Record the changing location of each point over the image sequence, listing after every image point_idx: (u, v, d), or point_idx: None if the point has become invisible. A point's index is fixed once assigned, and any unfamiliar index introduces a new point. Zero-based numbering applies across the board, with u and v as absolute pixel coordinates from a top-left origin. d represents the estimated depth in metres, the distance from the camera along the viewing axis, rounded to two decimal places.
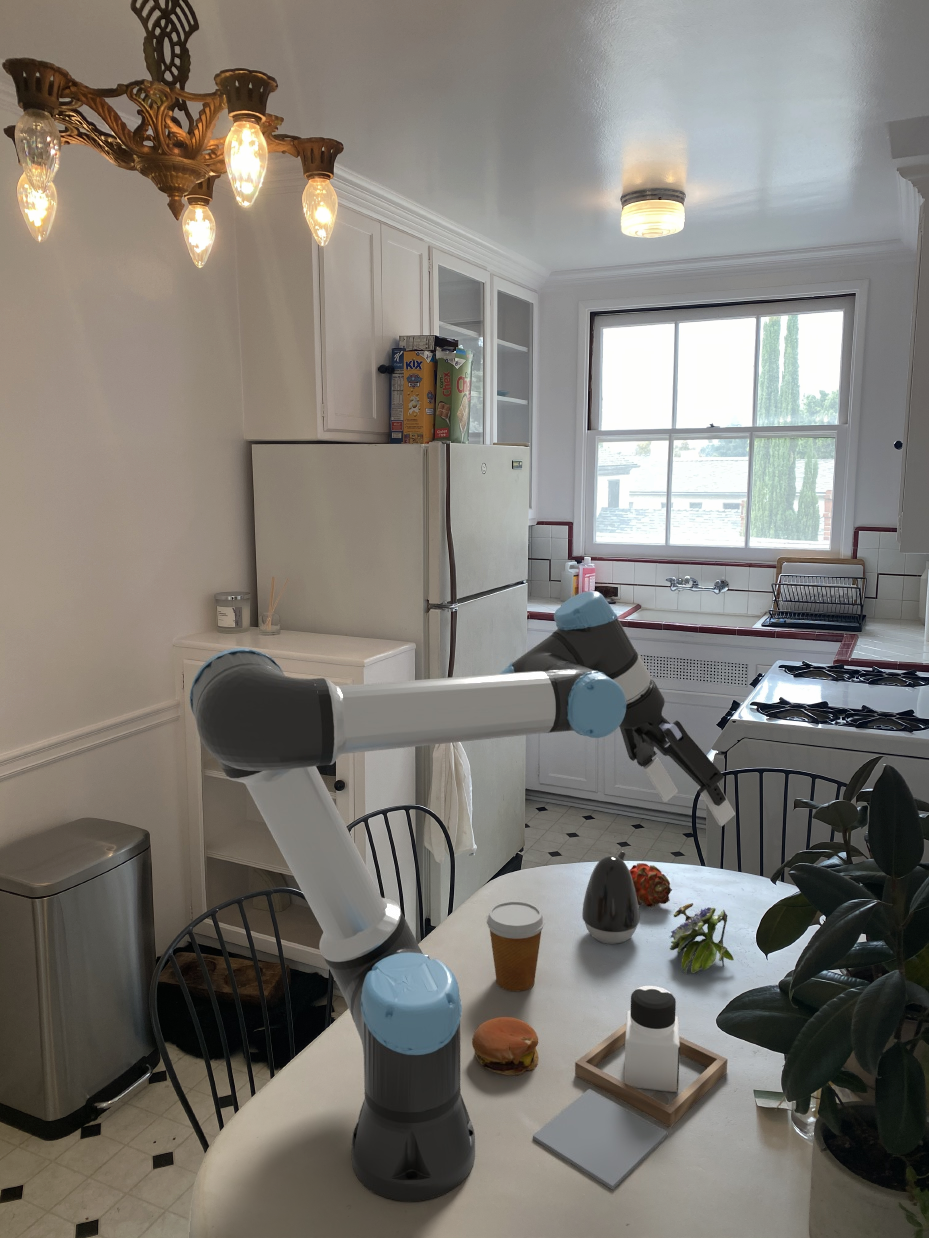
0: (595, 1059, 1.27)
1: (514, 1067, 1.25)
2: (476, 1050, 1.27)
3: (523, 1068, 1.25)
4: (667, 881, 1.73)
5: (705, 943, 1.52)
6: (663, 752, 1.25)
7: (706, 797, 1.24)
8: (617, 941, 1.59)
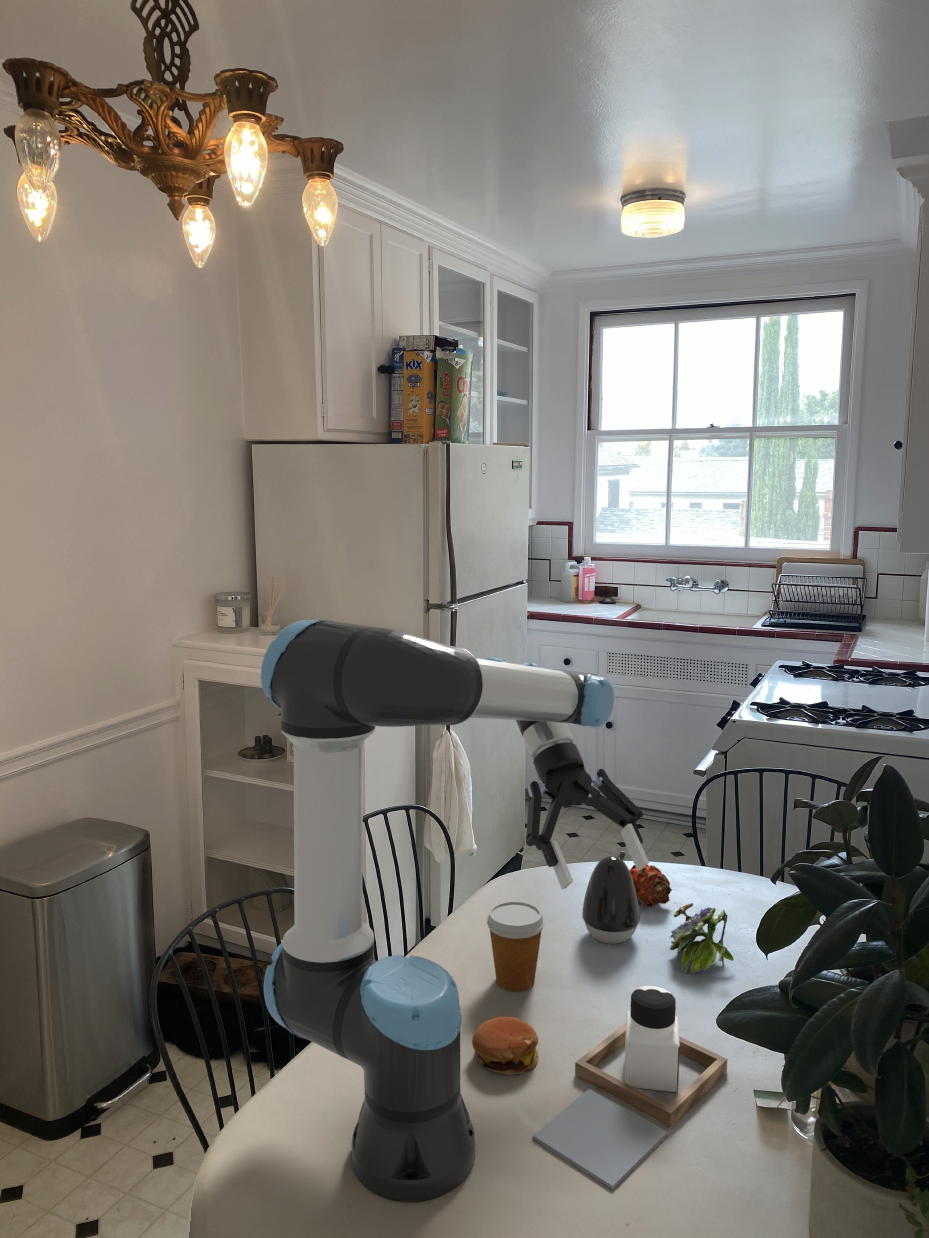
0: (595, 1059, 1.27)
1: (514, 1067, 1.25)
2: (476, 1050, 1.27)
3: (523, 1068, 1.25)
4: (667, 881, 1.73)
5: (705, 943, 1.52)
6: (597, 792, 1.42)
7: (634, 832, 1.40)
8: (617, 941, 1.59)
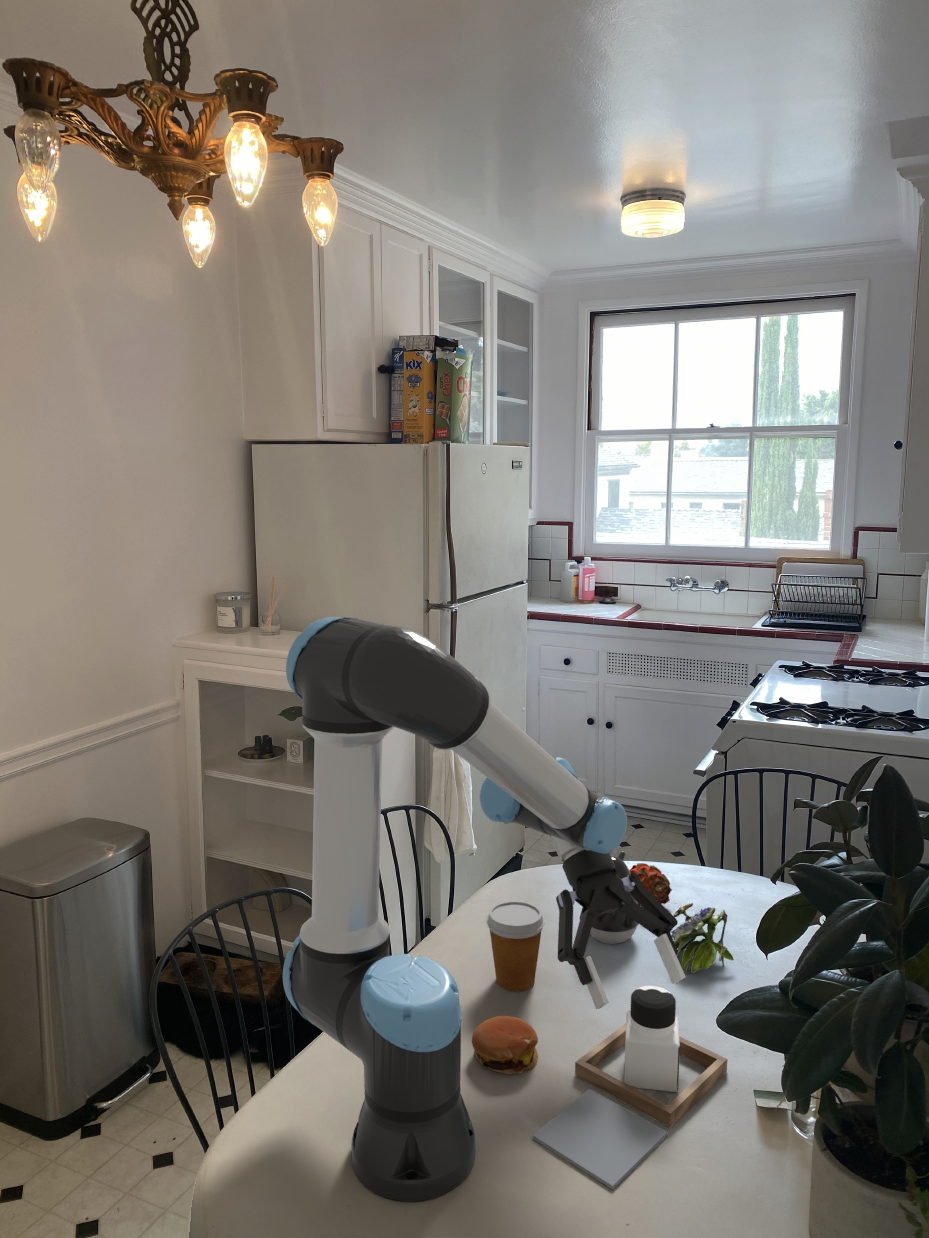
0: (595, 1059, 1.27)
1: (513, 1066, 1.25)
2: (476, 1049, 1.27)
3: (522, 1067, 1.25)
4: (667, 881, 1.73)
5: (705, 943, 1.52)
6: (630, 899, 1.35)
7: (670, 943, 1.34)
8: (617, 941, 1.59)
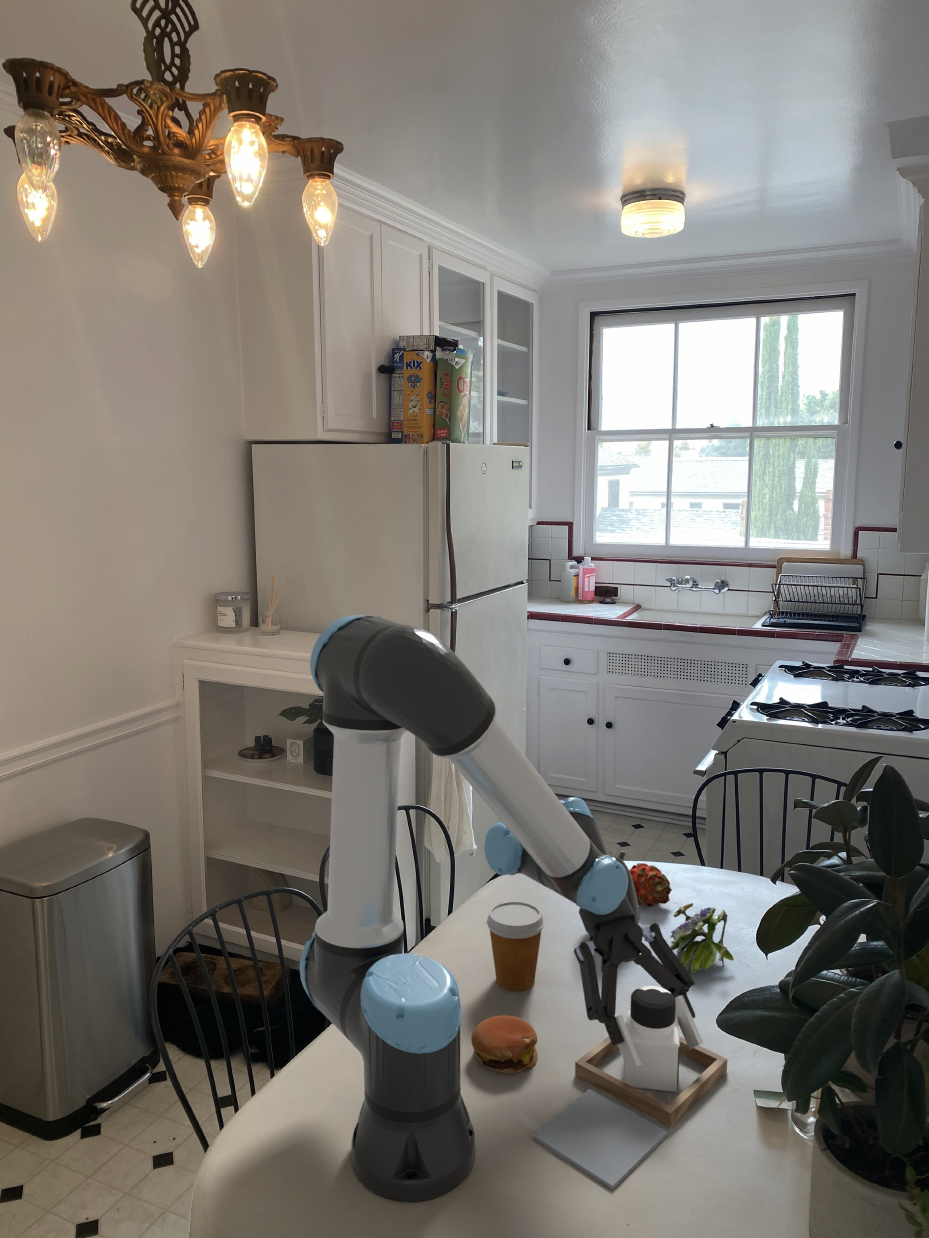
0: (595, 1059, 1.27)
1: (513, 1065, 1.25)
2: (475, 1048, 1.28)
3: (522, 1066, 1.25)
4: (667, 881, 1.73)
5: (705, 943, 1.52)
6: (648, 951, 1.29)
7: (686, 1005, 1.26)
8: None
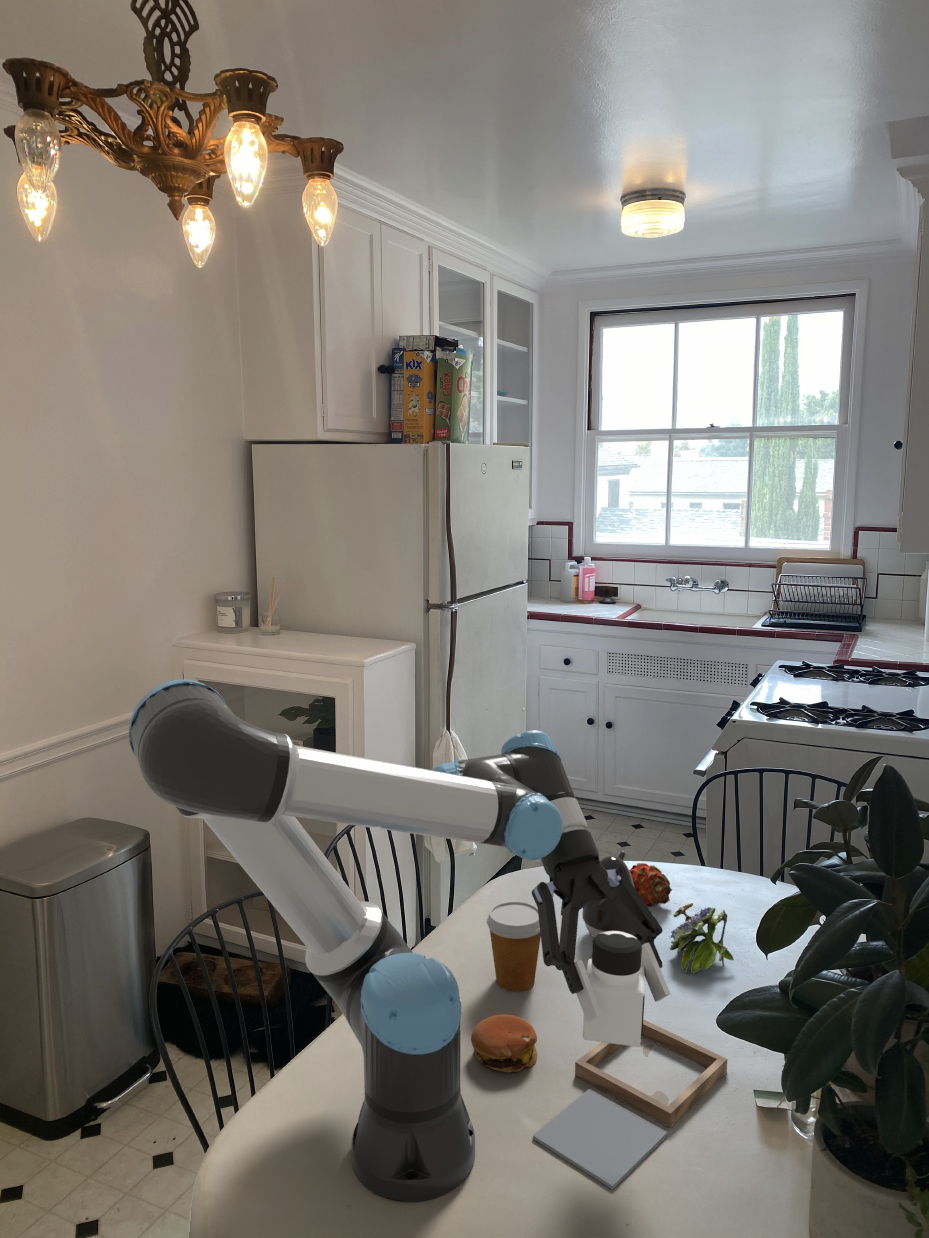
0: (595, 1059, 1.27)
1: (512, 1064, 1.25)
2: (475, 1047, 1.28)
3: (521, 1065, 1.26)
4: (667, 881, 1.73)
5: (705, 943, 1.52)
6: (613, 895, 1.17)
7: (653, 954, 1.15)
8: None
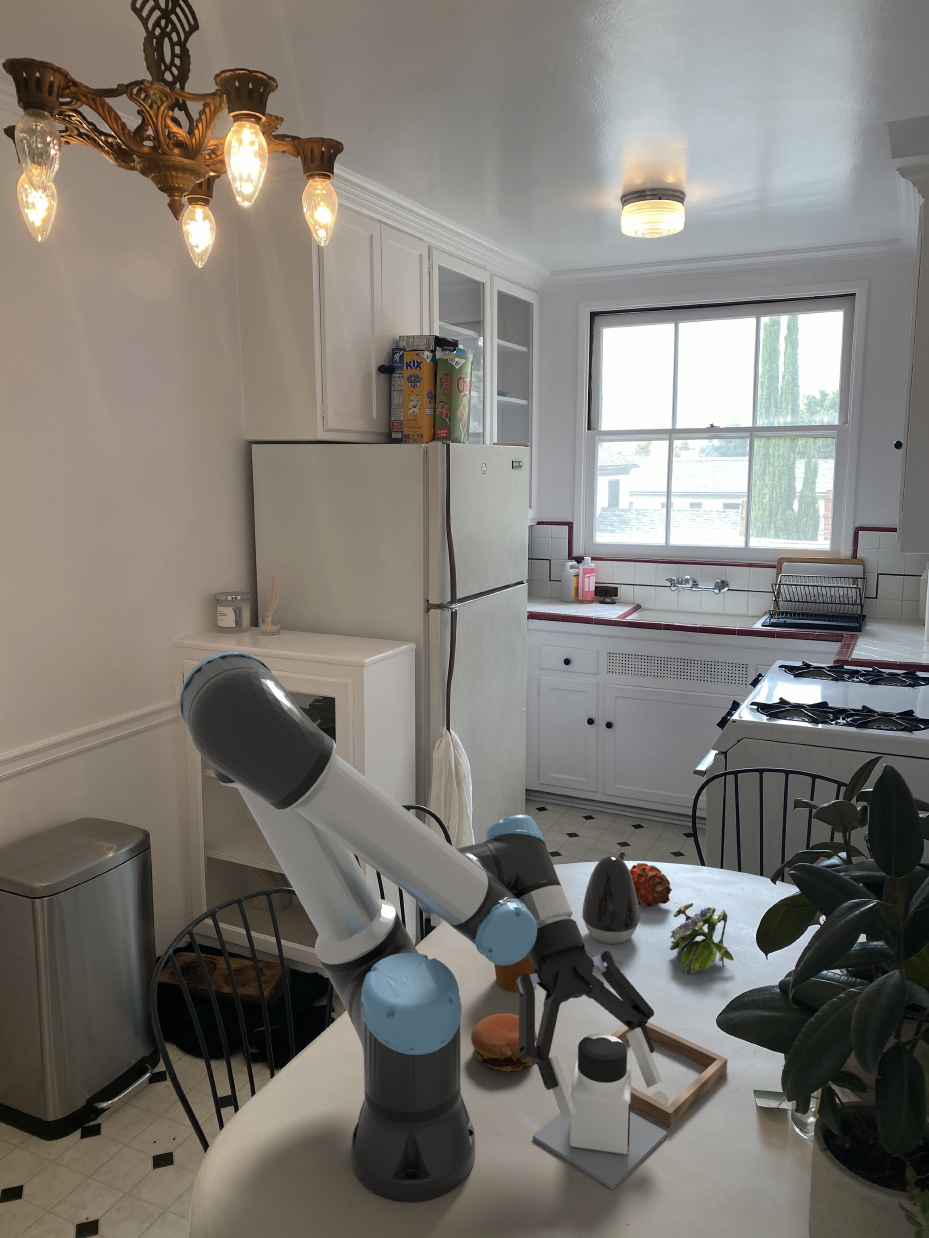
0: None
1: (512, 1063, 1.25)
2: (475, 1046, 1.28)
3: (521, 1064, 1.26)
4: (667, 881, 1.73)
5: (705, 943, 1.52)
6: (600, 984, 1.17)
7: None
8: (617, 941, 1.59)
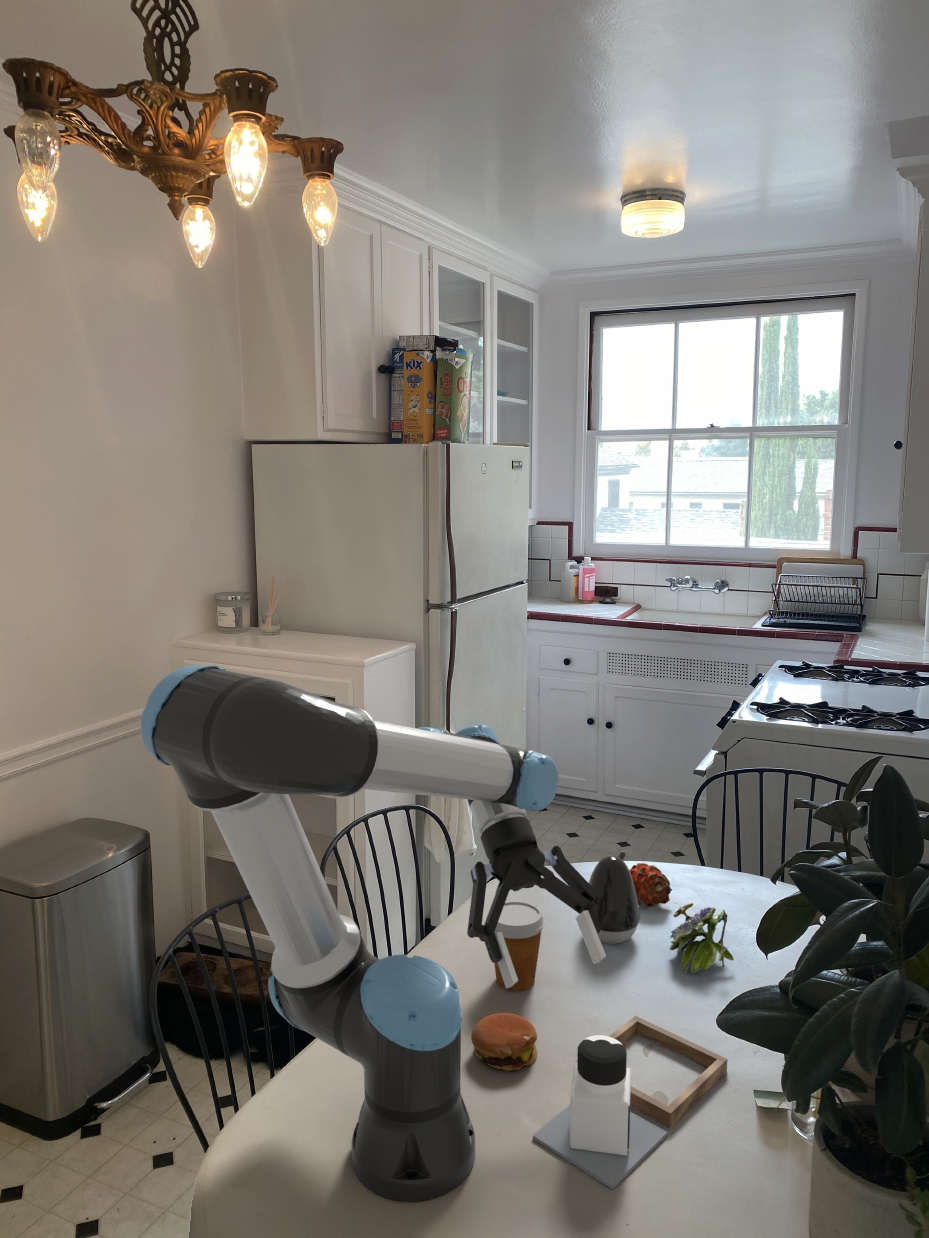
0: None
1: (512, 1062, 1.26)
2: (475, 1045, 1.28)
3: (521, 1064, 1.26)
4: (667, 881, 1.73)
5: (705, 943, 1.52)
6: (550, 873, 1.27)
7: None
8: (617, 941, 1.59)
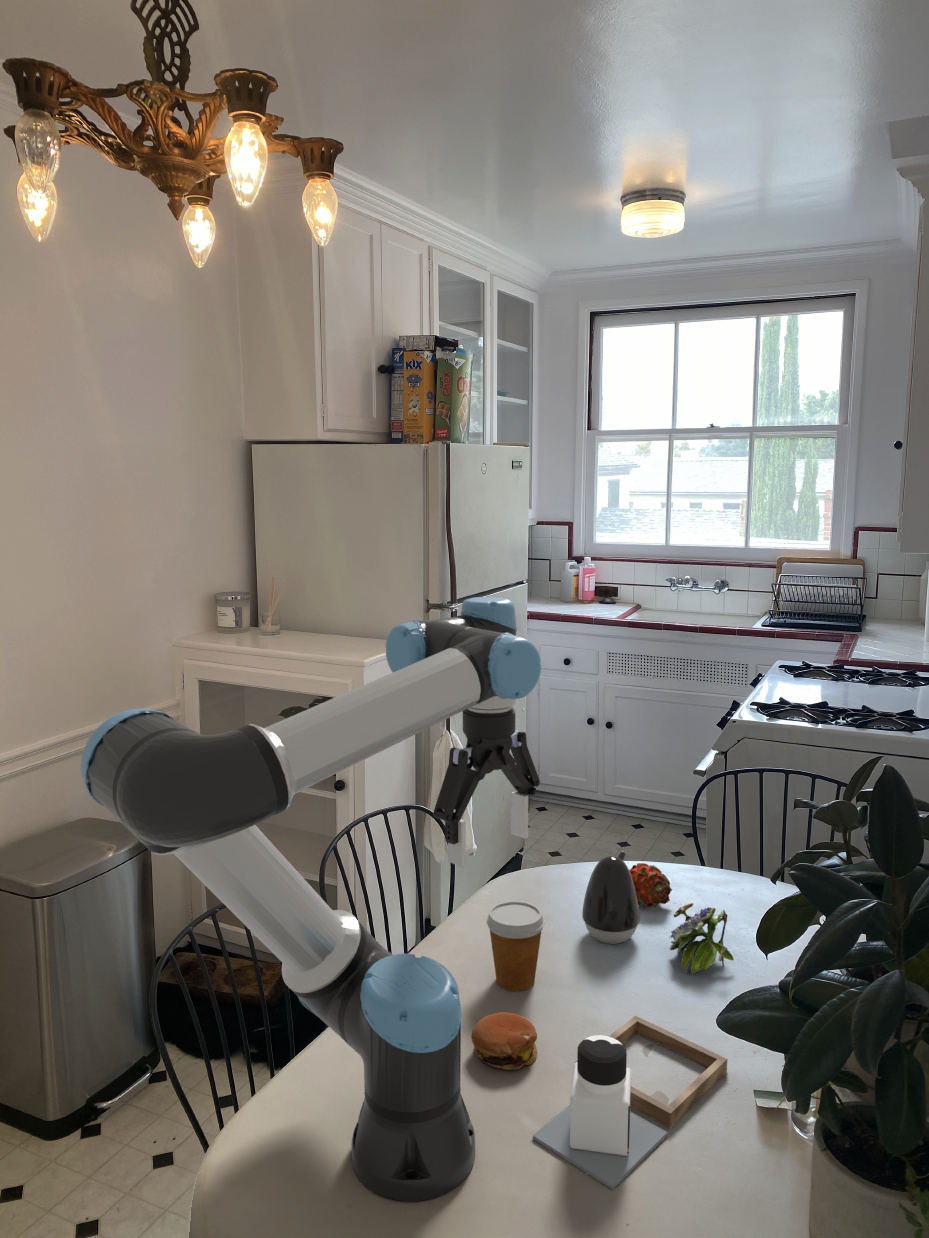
0: None
1: (512, 1062, 1.26)
2: (475, 1045, 1.28)
3: (521, 1063, 1.26)
4: (667, 881, 1.73)
5: (705, 943, 1.52)
6: (513, 763, 1.31)
7: (527, 804, 1.35)
8: (617, 941, 1.59)
